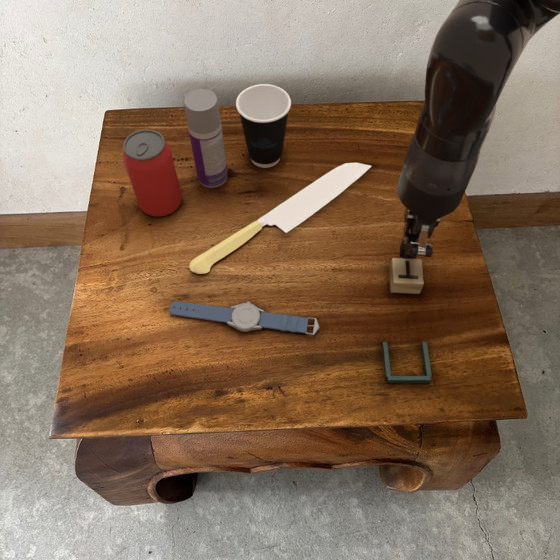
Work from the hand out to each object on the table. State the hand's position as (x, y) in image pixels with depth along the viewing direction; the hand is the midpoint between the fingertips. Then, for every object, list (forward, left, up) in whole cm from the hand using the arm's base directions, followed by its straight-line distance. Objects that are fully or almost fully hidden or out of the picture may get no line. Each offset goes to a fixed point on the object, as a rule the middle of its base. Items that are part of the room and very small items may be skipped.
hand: (407, 254), depth 76 cm
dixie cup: (+3, -28, -2) cm, 28 cm away
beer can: (+21, -31, -2) cm, 37 cm away
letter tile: (+3, +2, -2) cm, 4 cm away
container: (+12, -30, -2) cm, 32 cm away
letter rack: (+11, +11, -2) cm, 16 cm away
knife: (+8, -17, -2) cm, 18 cm away
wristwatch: (+23, -7, -2) cm, 24 cm away
